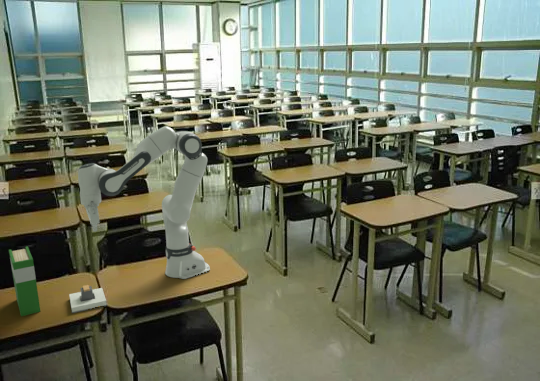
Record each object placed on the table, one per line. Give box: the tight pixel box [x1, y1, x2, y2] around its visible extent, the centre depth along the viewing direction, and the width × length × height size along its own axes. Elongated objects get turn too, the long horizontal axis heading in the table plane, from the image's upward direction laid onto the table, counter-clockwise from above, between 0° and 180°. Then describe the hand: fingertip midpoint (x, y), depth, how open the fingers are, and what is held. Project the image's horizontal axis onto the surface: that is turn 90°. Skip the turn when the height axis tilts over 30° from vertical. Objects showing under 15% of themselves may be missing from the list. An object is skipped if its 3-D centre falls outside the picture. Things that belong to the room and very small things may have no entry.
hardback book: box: [8, 245, 41, 317], centre depth 202 cm, size 18×7×24 cm, turn 33°
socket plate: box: [68, 287, 108, 314], centre depth 207 cm, size 14×14×2 cm
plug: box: [80, 284, 93, 301], centre depth 206 cm, size 4×5×7 cm
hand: (94, 228), depth 216 cm, fingers open, 8 cm apart
